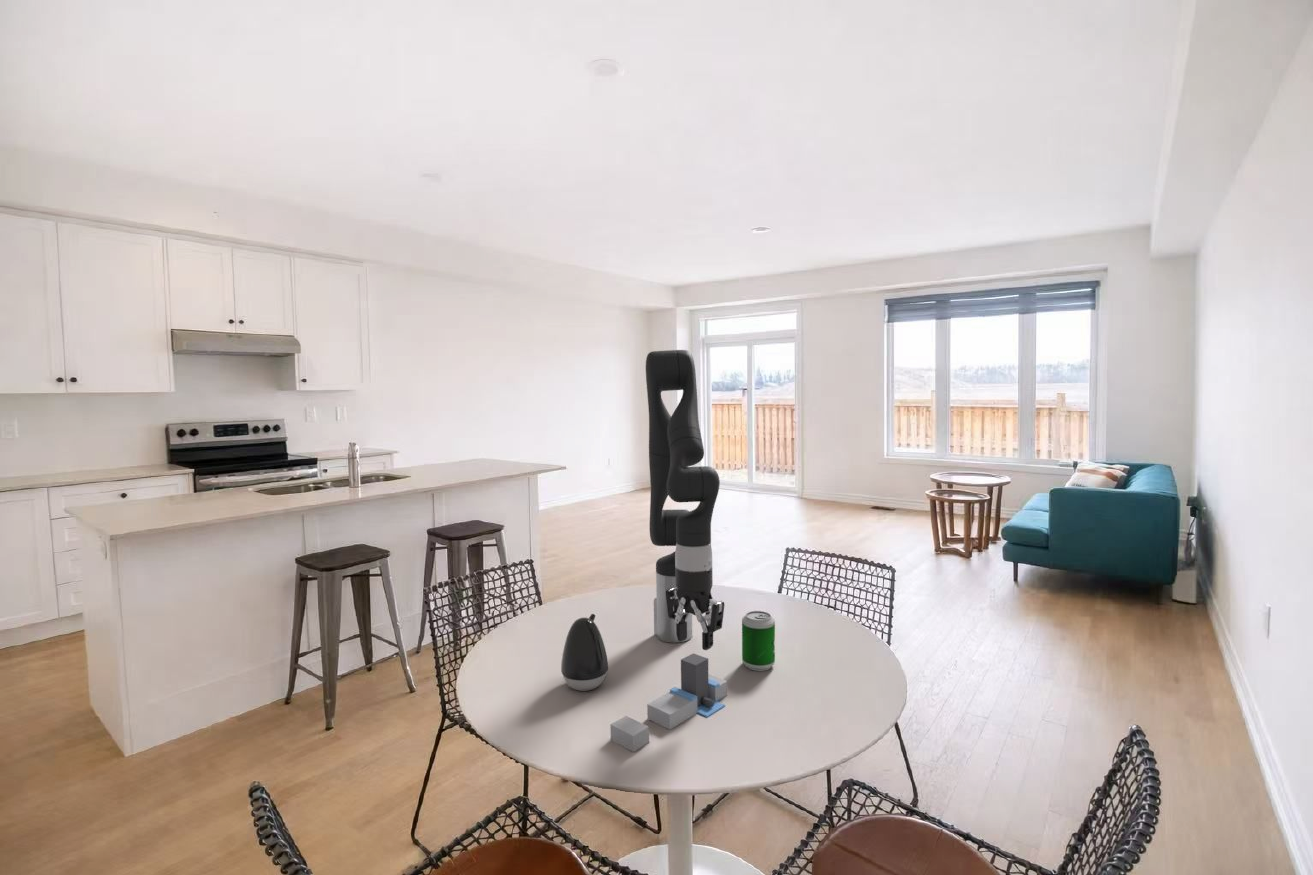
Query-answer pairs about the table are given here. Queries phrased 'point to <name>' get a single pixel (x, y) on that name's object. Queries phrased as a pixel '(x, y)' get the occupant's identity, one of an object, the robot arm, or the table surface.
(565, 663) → the black egg-shaped body
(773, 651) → the soda can
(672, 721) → the blue-tipped block chain
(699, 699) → the dark grey bar
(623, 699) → the table surface
